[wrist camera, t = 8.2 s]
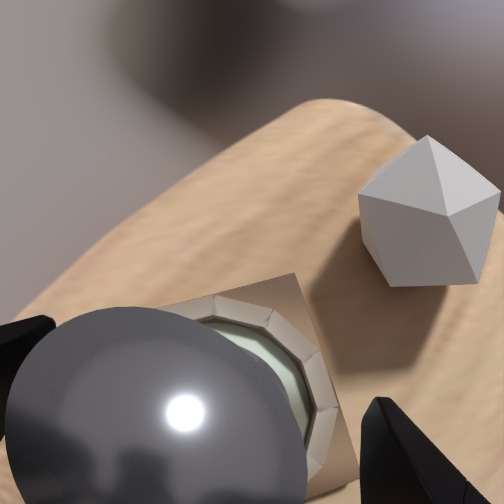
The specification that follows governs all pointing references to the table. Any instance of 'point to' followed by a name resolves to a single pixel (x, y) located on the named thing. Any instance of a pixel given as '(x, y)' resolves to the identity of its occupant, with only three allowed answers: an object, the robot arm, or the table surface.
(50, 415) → the silver round peg
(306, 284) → the table surface
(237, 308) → the board
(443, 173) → the die
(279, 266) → the table surface
